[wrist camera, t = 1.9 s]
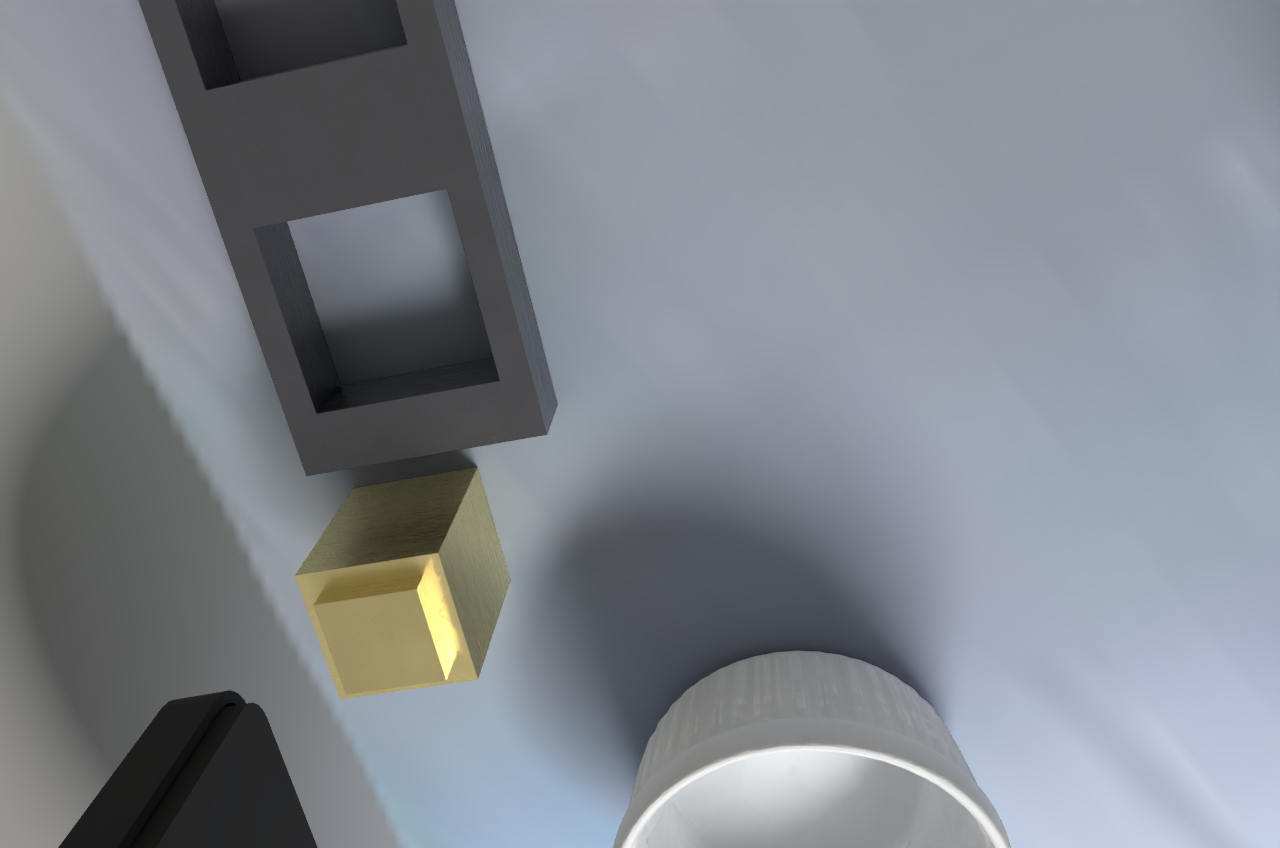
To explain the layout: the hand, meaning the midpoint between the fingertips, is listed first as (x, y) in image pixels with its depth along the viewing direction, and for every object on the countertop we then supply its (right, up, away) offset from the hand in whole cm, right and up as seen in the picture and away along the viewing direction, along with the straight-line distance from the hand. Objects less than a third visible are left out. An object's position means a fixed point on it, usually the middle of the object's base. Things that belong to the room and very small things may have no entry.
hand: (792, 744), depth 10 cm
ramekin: (+5, -10, +33) cm, 35 cm away
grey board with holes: (-10, +12, +25) cm, 29 cm away
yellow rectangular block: (-9, -1, +30) cm, 32 cm away
